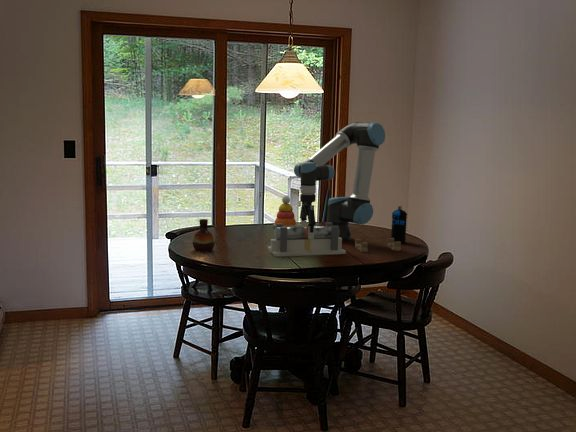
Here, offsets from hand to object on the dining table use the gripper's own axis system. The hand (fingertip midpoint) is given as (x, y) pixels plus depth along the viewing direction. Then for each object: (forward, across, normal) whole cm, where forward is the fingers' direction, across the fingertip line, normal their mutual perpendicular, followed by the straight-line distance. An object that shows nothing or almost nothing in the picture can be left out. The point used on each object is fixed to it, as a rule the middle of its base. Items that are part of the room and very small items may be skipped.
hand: (307, 236), depth 308 cm
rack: (+8, 0, +38) cm, 39 cm away
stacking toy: (+8, -65, +5) cm, 66 cm away
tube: (+1, 0, 0) cm, 1 cm away
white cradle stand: (+8, 0, 0) cm, 8 cm away
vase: (+8, -10, -50) cm, 52 cm away
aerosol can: (+9, -15, +56) cm, 58 cm away
